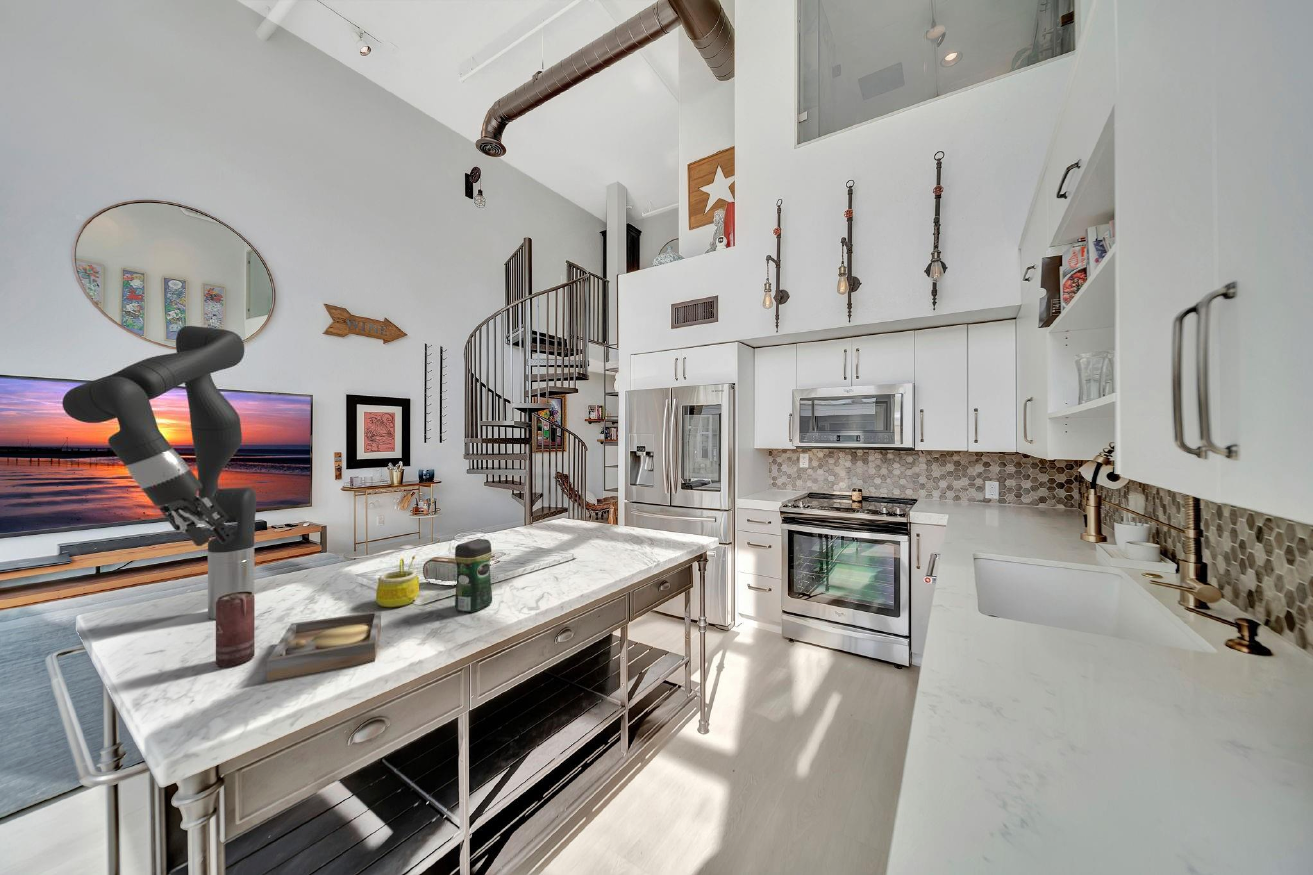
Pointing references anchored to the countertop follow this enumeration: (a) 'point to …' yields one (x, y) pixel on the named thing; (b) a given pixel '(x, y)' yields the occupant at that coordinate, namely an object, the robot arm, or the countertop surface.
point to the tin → (440, 569)
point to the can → (235, 629)
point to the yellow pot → (397, 587)
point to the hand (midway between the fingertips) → (216, 542)
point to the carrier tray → (325, 645)
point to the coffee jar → (473, 575)
